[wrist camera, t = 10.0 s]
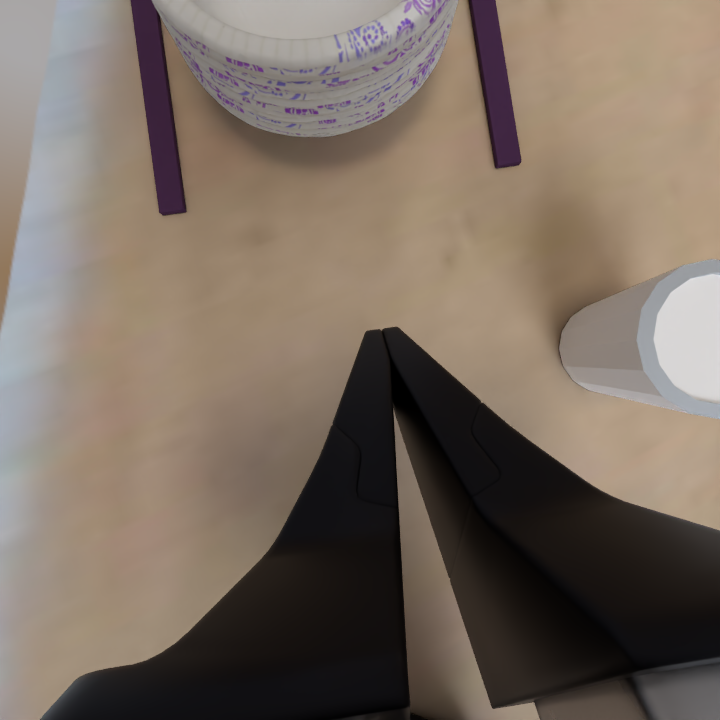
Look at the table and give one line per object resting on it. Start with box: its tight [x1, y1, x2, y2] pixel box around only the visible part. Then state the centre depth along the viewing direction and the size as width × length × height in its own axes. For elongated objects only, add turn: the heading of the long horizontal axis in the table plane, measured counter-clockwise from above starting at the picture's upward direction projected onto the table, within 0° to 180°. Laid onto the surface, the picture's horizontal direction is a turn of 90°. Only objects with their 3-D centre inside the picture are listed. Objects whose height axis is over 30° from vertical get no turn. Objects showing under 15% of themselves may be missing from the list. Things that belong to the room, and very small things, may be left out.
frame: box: [131, 0, 521, 215], centre depth 22 cm, size 19×22×1 cm
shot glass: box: [559, 259, 720, 419], centre depth 19 cm, size 7×7×7 cm
